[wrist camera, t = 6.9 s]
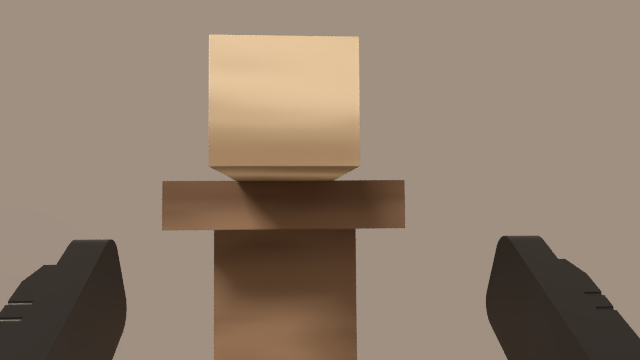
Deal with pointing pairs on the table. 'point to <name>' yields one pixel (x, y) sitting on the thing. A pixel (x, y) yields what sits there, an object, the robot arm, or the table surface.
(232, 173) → the beech bar
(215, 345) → the walnut pedestal
